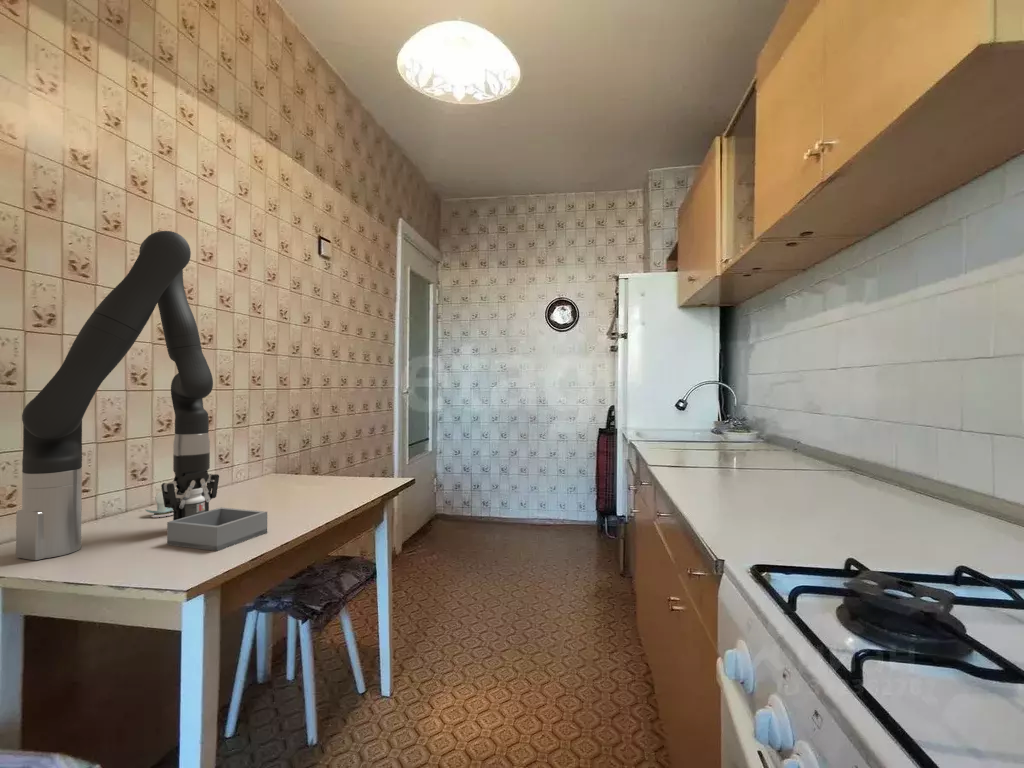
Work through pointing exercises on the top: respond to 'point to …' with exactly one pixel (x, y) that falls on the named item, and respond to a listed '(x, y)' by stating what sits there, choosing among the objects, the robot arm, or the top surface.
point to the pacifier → (160, 508)
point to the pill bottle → (194, 503)
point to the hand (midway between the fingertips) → (191, 520)
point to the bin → (216, 528)
